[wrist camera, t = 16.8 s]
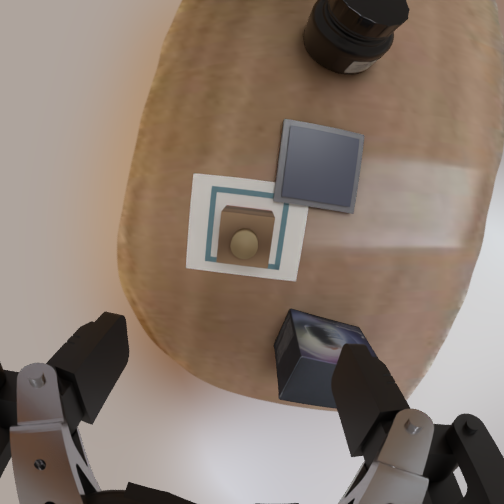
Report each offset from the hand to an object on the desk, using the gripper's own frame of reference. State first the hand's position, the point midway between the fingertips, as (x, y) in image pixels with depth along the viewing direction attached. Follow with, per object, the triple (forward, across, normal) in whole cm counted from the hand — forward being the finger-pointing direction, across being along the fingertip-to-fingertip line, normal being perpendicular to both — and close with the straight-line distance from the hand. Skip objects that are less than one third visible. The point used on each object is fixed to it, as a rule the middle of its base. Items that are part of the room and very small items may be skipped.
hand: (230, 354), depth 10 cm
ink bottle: (+23, -8, -24) cm, 34 cm away
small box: (+23, -11, +13) cm, 29 cm away
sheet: (+23, 0, 0) cm, 23 cm away
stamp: (+23, 0, 0) cm, 23 cm away
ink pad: (+23, -7, -8) cm, 25 cm away
